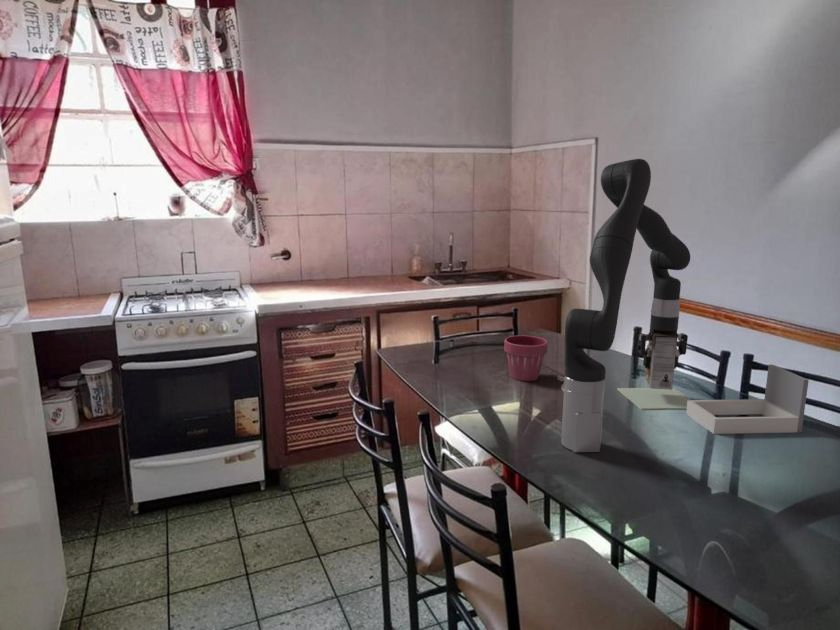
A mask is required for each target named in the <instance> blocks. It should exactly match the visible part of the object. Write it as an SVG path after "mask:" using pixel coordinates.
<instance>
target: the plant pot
mask: <svg viewBox="0 0 840 630" xmlns="http://www.w3.org/2000/svg"><path fill="white" fill-rule="evenodd" d="M503 342H504V345H503V349H504V352H505V353H506V356H507V363H508V368H509V374H510V378H512V379H513V380H515V381H520V382H531V381H532V382H533V381H536V380H538V379H539V375H540V373H541V369H542V366H543V365H542V364H543V362H544V357H545V355H546V354H547V353H548V347H549V346H548V343H549V342H548V340H547V339H545V338H543V337H539V336H535V335H527V334H526V335H524V334H523V335H522V334H521V335H520V334H519V335H518V334H517V335H512V336H511V335H510V336H507V337H506V338H505V339H504V341H503Z"/></svg>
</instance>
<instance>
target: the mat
mask: <svg viewBox="0 0 840 630" xmlns="http://www.w3.org/2000/svg"><path fill="white" fill-rule="evenodd" d="M616 390H617V391H618V392H620V393H621V394H622V395H623V396H624V397H626V399H628V400H629V401H630V402H631V403H633V404H634V405H635V406H636V407H637V408H639V409H640V410H643V411H645V410H646V411H647V410H648V411H650V410H687V400H692V399H691V398H690V397H688V396H687V395H685V394H684V393H683V392H681V391H679V390H678V389H677V388H675V387H673V386H672V390H668V389H651V388H650V387H617V388H616Z"/></svg>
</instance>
